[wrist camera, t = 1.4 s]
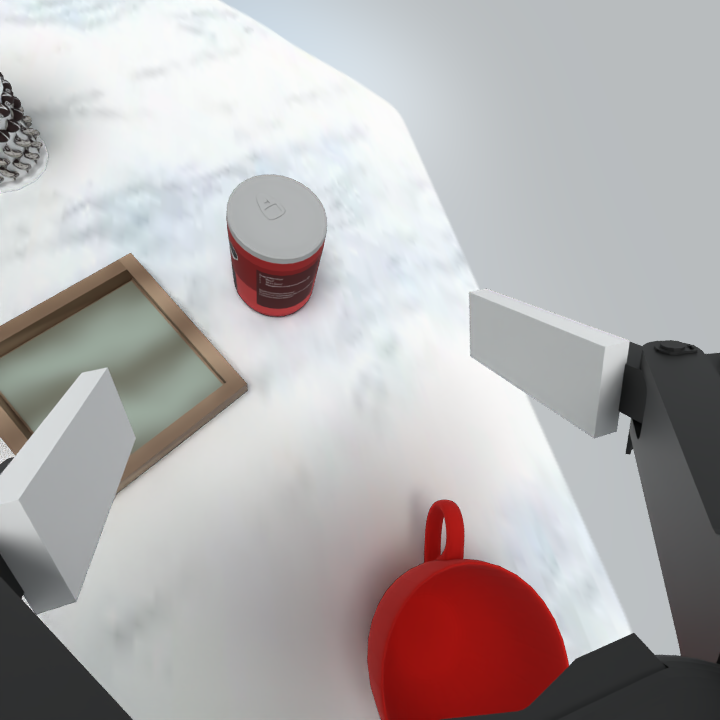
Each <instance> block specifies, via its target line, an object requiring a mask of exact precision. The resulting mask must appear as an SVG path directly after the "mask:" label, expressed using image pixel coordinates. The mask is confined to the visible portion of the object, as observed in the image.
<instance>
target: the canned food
mask: <svg viewBox="0 0 720 720" xmlns="http://www.w3.org/2000/svg"><path fill="white" fill-rule="evenodd" d="M226 219H227V229H228V237H229V245H230V253H231V261H232V269H233V277H234V283H235V287H236V289H237V292H238V294H239V295H240V297H241V298H242V299H243V300H244V302H245V303H246V304H247V305H248V306H249V307H251V308H252V309H254V310H255V311H257V312H259V313H261V314H264V315H268V316H277V317H278V316H286V315H289V314H292V313H294V312H296V311H297V310H299V309H300V308H301V307H302V306H304V305H305V304H306V302H307V301H308V300H309V298H310V296H311V293H312V290H313V286H314V282H315V278H316V274H317V270H318V266H319V262H320V258H321V254H322V250H323V247H324V242H325V237H326V232H327V217H326V213H325V209H324V207H323V205H322V203H321V202H320V200H319V199H318V198H317V196H316V195H315V194H314V193H313V192H312V191H311V190H310V189H309V188H307V187H306V186H305V185H303V184H302V183H300V182H298V181H296V180H294V179H291V178H288V177H285V176H280V175H260V176H255V177H252V178H249V179H247V180H245V181H244V182H242V183H240V184H239V185H238V186H237V187H236V188H235V189H234V190H233V192H232V194H231V195H230V197H229V200H228V204H227V216H226Z"/></svg>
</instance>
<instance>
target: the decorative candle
mask: <svg viewBox="0 0 720 720" xmlns="http://www.w3.org/2000/svg"><path fill="white" fill-rule="evenodd" d="M23 111H24V110H23V108H22V107H21V102H20V100H19V99H18V98H17V97H15V96H13V92H12V87H11V85H10V83H9V82H8V81H6V80H4V77H3V75H2V74H1V72H0V193H4V192H10V191H15V190H19V189H21V188H23V187H25V186H27V185H29V184H31V183H33V182H35V181H36V180H37V179H38V178H39V176H40V175H41V174H42V173H43V172H44V171H45V170H46V166H47V162H48V157H49V155H48V152H47V149H46V146H45V143H44V142H43V140H42V139H41V138H40V137H39V132H38V131H37V130H34V129H32V128H29V126H31V125H32V123H31V122H32V120H31V118H30V117H29V116H24V114H23Z"/></svg>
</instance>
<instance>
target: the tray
mask: <svg viewBox="0 0 720 720" xmlns="http://www.w3.org/2000/svg"><path fill="white" fill-rule="evenodd" d="M107 367H108V370H109V372H110V375H111V377H112V380H113V382H114V385H115V387H116V390H117V392H118V395H119V397H120V400H121V402H122V405H123V407H124V410H125V412H126V415H127V417H128V420H129V422H130V425H131V427H132V430H133V432H134V435H135V437H136V439H135V442H134V445H133V447H132V450H131V453H130V456H129V459H128V461H127V464H126V467H125V470H124V472H123V475H122V478H121V481H120V483H119V486H118V489H117V492H116V494H117V493H118V492H119V491H121V490H122V489H123V488H125V487H126V486H127V485H128V484H130V483H131V482H132V481H133V480H135V479H136V478H137V477H139V476H140V475H141V474H142V473H144V472H145V471H146V470H147V469H149V468H150V467H151V466H152V465H154V464H155V463H156V462H158V461H159V460H160V459H161V458H163V457H164V456H165V455H166V454H168V453H169V452H170V451H172V450H173V449H174V448H175V447H177V446H178V445H179V444H180V443H182V442H183V441H184V440H186V439H187V438H188V437H189V436H191V435H192V434H193V433H194V432H196V431H197V430H198V429H200V428H201V427H202V426H203V425H205V424H206V423H207V422H208V421H210V420H211V419H212V418H213V417H215V416H216V415H217V414H219V413H220V412H221V411H222V410H224V409H225V408H226V407H227V406H229V405H230V404H231V403H233V402H234V401H235V400H236V399H238V398H239V397H240V396H241V395H243V394H244V393H245V392H247V391H248V390H247V383H246V382H245V381H244V380H243V379H242V378H241V377H240V375H239V374H238V373H237V372H236V371H235V370H234V369H233V368H232V366H231V365H230V364H229V363H228V362H227V361H226V360H225V358H224V357H223V356H222V355H221V354H220V353H219V352H218V351H217V349H216V348H215V347H214V346H213V345H212V344H211V343H210V342H209V340H208V339H207V338H206V337H205V336H204V335H203V334H202V333H201V331H200V330H199V329H198V328H197V327H196V326H195V325H194V324H193V322H192V321H191V320H190V319H189V318H188V317H187V316H186V315H185V313H184V312H183V311H182V310H181V309H180V308H179V307H178V305H177V304H176V303H175V302H174V301H173V300H172V299H171V298H170V296H169V295H168V294H167V293H166V292H165V291H164V290H163V289H162V287H161V286H160V285H159V284H158V283H157V282H156V281H155V280H154V278H153V277H152V276H151V275H150V274H149V273H148V272H147V271H146V269H145V268H144V267H143V266H142V265H141V264H140V263H139V261H138V260H137V259H136V258H135V257H134V256H133V255H132V254H131V253H129V254H128V255H126V256H124V257H122V258H121V259H119V260H117V261H115V262H113V263H112V264H110V265H108V266H106V267H105V268H103V269H101V270H99V271H97V272H96V273H94V274H92V275H90V276H89V277H87V278H85V279H83V280H81V281H80V282H78V283H76V284H74V285H72V286H71V287H69V288H67V289H65V290H64V291H62V292H60V293H58V294H56V295H55V296H53V297H51V298H49V299H48V300H46V301H44V302H42V303H40V304H39V305H37V306H35V307H33V308H32V309H30V310H28V311H26V312H24V313H23V314H21V315H19V316H17V317H16V318H14V319H12V320H10V321H8V322H7V323H5V324H3V325H1V326H0V437H1V438H2V439H3V441H4V442H5V443H6V444H7V446H8V447H9V448H10V449H11V451H12V452H13V453H14V454H15V456H16V455H17V453H18V452H19V451H20V450H21V448H22V447H23V446H24V445H25V443H26V442H27V441H28V440H29V438H30V437H31V436H32V435H33V433H34V432H35V431H36V430H37V428H38V427H39V426H40V425H41V423H42V422H43V421H44V420H45V418H46V417H47V416H48V415H49V413H50V412H51V411H52V410H53V408H54V407H55V406H56V404H57V403H58V402H59V401H60V399H61V398H62V397H63V396H64V394H65V393H66V392H67V391H68V389H69V388H70V387H71V386H72V384H73V383H74V382H75V381H76V379H77V378H78V377H79V376H80V374H81V373H83V372H88V371H93V370H97V369H102V368H107ZM116 494H115V495H116Z"/></svg>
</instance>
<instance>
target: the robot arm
mask: <svg viewBox="0 0 720 720" xmlns="http://www.w3.org/2000/svg"><path fill="white" fill-rule="evenodd" d="M469 312H470V356H471V357H472V358H474V359H475V360H477V361H478V362H480V363H481V364H483V365H484V366H486V367H487V368H489V369H490V370H492V371H493V372H495V373H496V374H498V375H499V376H501V377H502V378H504V379H505V380H507V381H508V382H510V383H511V384H513V385H514V386H516V387H517V388H519V389H520V390H522V391H523V392H525V393H526V394H528V395H529V396H531V397H533V398H534V399H535V400H537V401H539V402H540V403H542V404H543V405H545V406H546V407H548V408H549V409H551V410H552V411H554V412H555V413H557V414H558V415H560V416H561V417H563V418H564V419H566V420H567V421H569V422H570V423H572V424H573V425H575V426H576V427H578V428H579V429H581V430H582V431H584V432H585V433H587V434H588V435H590V436H591V437H593V438H597V437H600V436H603V435H607V434H610V433H613V432H616V431H617V426H618V418H619V412H621V413H623V414H625V415H627V416H629V417H631V423H630V429H629V435H628V443H627V448H626V454H630V453H631V450H632V449H634V454H635V458H636V462H637V467H638V471H639V475H640V479H641V484H642V487H643V492H644V497H645V501H646V505H647V509H648V514H649V518H650V522H651V527H652V531H653V535H654V540H655V544H656V548H657V553H658V557H659V561H660V566H661V570H662V574H663V578H664V583H665V587H666V591H667V596H668V600H669V604H670V608H671V613H672V617H673V621H674V626H675V630H676V634H677V639H678V643H679V648H680V653H681V656H676V655H654V654H653V653H652V652H651V651H650V650H649V649H648V647H647V646H646V645H645V644H644V643H643V642H642V641H641V640H640V639H639V638H638V637H637V635H636V634H635V633H633V634H630V635H628V636H626V637H624V638H622V639H619V640H617V641H615V642H613V643H610V644H608V645H606V646H604V647H601V648H599V649H597V650H595V651H592V652H590V653H588V654H586V655H583V656H581V657H579V658H577V659H575V660H574V661H573V662H572V663H571V664H570V665H569V666H568V667H567V668H566V669H565V670H564V671H563V672H562V673H561V674H560V675H559V676H558V677H557V678H556V679H555V680H554V681H553V682H552V683H551V684H550V685H549V686H548V687H547V688H546V689H545V690H544V691H543V692H542V693H541V694H540V695H539V696H538V697H537V698H536V699H535V700H534V701H533V702H532V703H531V704H530V705H529V706H528V707H527V708H525V709H523V710H520V711H515V712H505V713H496V714H486V715H477V716H467V717H458V718H448V719H440V720H720V353H714V354H704V352H703V351H702V350H700V349H699V348H698V347H696V346H694V345H690V344H686V343H682V342H679V341H672V340H670V341H654V342H649V343H646V344H645V345H643V346H640V345H637V344H635V343H632V342H630V341H629V340H626V339H624V338H621V337H618V336H615V335H613V334H610V333H607V332H604V331H602V330H599V329H596V328H594V327H591V326H588V325H585V324H583V323H580V322H577V321H574V320H572V319H569V318H566V317H563V316H560V315H558V314H555V313H552V312H549V311H547V310H544V309H541V308H539V307H536V306H533V305H530V304H528V303H525V302H522V301H519V300H516V299H514V298H511V297H508V296H505V295H503V294H500V293H497V292H494V291H492V290H489V289H482V290H477V291H472V292H469ZM135 439H136V437H135V435H134V432H133V430H132V427H131V425H130V422H129V420H128V417H127V415H126V412H125V410H124V407H123V405H122V402H121V400H120V397H119V395H118V392H117V390H116V387H115V385H114V382H113V380H112V377H111V375H110V372H109V370H108V367H107V368H102V369H97V370H93V371H88V372H83V373H81V374H80V376H79V377H78V378H77V379H76V381H75V382H74V383H73V384H72V386H71V387H70V388H69V389H68V391H67V392H66V393H65V394H64V396H63V397H62V398H61V399H60V401H59V402H58V403H57V404H56V406H55V407H54V408H53V410H52V411H51V412H50V413H49V415H48V416H47V417H46V418H45V420H44V421H43V422H42V423H41V425H40V426H39V427H38V428H37V430H36V431H35V432H34V433H33V435H32V436H31V437H30V438H29V440H28V441H27V442H26V443H25V445H24V446H23V447H22V448H21V450H20V451H19V452H18V453H17V455H16V456H15V457H13V458H8V459H7V460H5V461H4V462H2V463H1V464H0V720H133V719H132V718H131V717H130V716H129V715H128V714H127V713H126V712H125V711H124V710H123V709H122V708H121V707H120V705H119V704H118V703H117V702H116V701H115V700H114V699H113V698H112V697H111V696H110V695H109V694H108V692H107V691H106V690H105V689H104V688H103V687H102V686H101V685H100V684H99V683H98V682H97V681H96V679H95V678H94V677H93V676H92V675H91V674H90V673H89V672H88V671H87V670H86V669H85V668H84V666H83V665H82V664H81V663H80V662H79V661H78V660H77V659H76V658H75V657H74V656H73V655H72V653H71V652H70V651H69V650H68V649H67V648H66V647H65V646H64V645H63V644H62V643H61V642H60V640H59V639H58V638H57V637H56V636H55V635H54V634H53V633H52V632H51V631H50V630H49V629H48V627H47V626H46V625H45V624H44V623H43V622H42V621H41V620H40V619H39V618H38V617H37V616H36V615H35V614H39V613H42V612H45V611H48V610H52V609H55V608H58V607H61V606H64V605H67V604H71V603H74V602H77V599H78V596H79V593H80V591H81V588H82V585H83V582H84V580H85V577H86V574H87V571H88V569H89V566H90V563H91V560H92V558H93V555H94V552H95V549H96V547H97V544H98V541H99V538H100V536H101V533H102V530H103V527H104V525H105V522H106V519H107V516H108V514H109V511H110V508H111V505H112V503H113V500H114V497H115V494H116V492H117V489H118V486H119V483H120V481H121V478H122V475H123V472H124V470H125V467H126V464H127V461H128V459H129V456H130V453H131V450H132V447H133V445H134V442H135ZM23 595H24V597H25V598H26V600H27V601H28V603H29V605H30V606H31V608H32V609H33V611H34V612H35V613H34V612H33V611H32V610H31V609H30V608H29V607H28V606H27V605H26V604H25V603H24V602H23V600H22V599H21V598H22V596H23Z"/></svg>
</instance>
